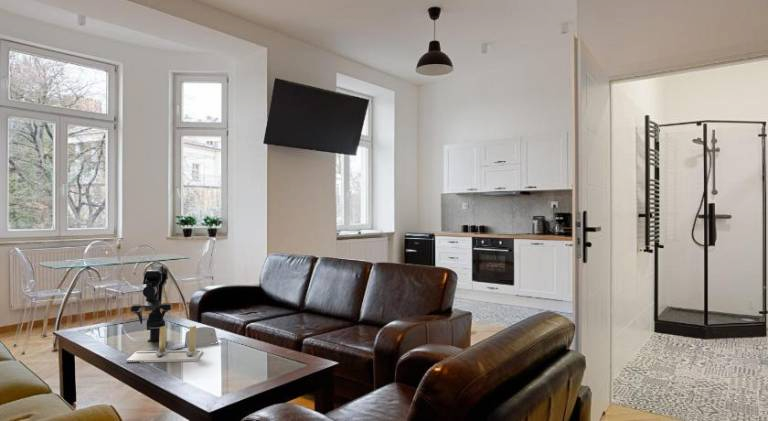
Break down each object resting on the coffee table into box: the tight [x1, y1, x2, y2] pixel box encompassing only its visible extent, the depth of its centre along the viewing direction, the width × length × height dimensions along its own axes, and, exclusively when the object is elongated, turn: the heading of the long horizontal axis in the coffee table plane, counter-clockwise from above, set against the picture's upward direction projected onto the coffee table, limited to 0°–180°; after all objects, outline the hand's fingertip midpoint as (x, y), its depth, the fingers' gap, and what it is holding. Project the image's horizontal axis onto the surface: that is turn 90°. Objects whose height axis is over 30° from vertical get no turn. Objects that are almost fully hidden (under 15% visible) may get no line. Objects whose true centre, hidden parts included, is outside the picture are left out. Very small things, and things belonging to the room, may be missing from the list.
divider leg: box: [156, 325, 169, 356], centre depth 229 cm, size 7×4×14 cm
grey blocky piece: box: [184, 326, 219, 348], centre depth 254 cm, size 17×5×10 cm, turn 125°
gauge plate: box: [126, 325, 204, 363], centre depth 230 cm, size 14×32×15 cm, turn 100°
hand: (151, 323), depth 243 cm, fingers open, 9 cm apart
